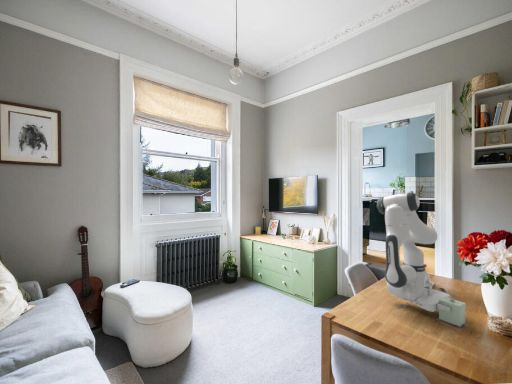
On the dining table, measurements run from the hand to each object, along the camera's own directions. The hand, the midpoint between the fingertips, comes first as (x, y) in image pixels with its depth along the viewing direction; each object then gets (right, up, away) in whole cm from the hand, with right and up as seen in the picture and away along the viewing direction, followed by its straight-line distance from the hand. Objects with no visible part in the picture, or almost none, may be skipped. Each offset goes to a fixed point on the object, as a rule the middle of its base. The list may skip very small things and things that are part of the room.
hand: (454, 307), depth 114 cm
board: (0, -8, +1) cm, 8 cm away
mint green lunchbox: (0, -7, +1) cm, 7 cm away
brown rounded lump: (+9, -8, +20) cm, 24 cm away
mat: (-10, -8, +15) cm, 20 cm away
